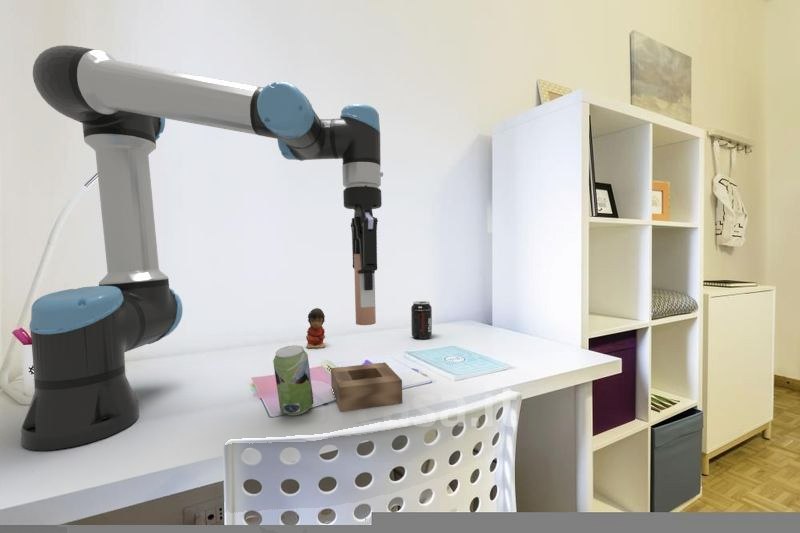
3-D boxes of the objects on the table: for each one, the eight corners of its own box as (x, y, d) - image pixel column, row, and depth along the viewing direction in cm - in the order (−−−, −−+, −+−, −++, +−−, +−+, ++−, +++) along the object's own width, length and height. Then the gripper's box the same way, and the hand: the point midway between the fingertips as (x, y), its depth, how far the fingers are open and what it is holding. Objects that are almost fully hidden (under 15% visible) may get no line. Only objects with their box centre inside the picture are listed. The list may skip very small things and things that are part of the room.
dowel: (358, 325, 73) (356, 254, 73) (354, 322, 77) (352, 254, 76) (377, 324, 74) (376, 253, 74) (373, 320, 78) (371, 253, 78)
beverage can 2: (435, 338, 125) (435, 302, 124) (418, 341, 121) (418, 304, 121) (424, 334, 131) (424, 300, 130) (407, 337, 127) (407, 301, 127)
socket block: (340, 411, 69) (339, 387, 69) (331, 388, 80) (331, 368, 80) (402, 402, 72) (401, 380, 72) (385, 382, 84) (385, 362, 84)
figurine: (302, 346, 116) (301, 308, 115) (318, 343, 120) (317, 306, 119) (312, 350, 111) (311, 310, 111) (328, 347, 115) (328, 308, 114)
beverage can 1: (319, 405, 72) (317, 343, 71) (300, 422, 65) (299, 353, 64) (289, 402, 73) (287, 341, 73) (267, 419, 66) (266, 351, 65)
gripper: (392, 181, 68) (395, 310, 69) (370, 194, 84) (373, 299, 85) (351, 179, 65) (354, 312, 66) (337, 193, 81) (340, 301, 82)
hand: (365, 304), depth 75 cm, fingers closed on dowel, 4 cm apart
